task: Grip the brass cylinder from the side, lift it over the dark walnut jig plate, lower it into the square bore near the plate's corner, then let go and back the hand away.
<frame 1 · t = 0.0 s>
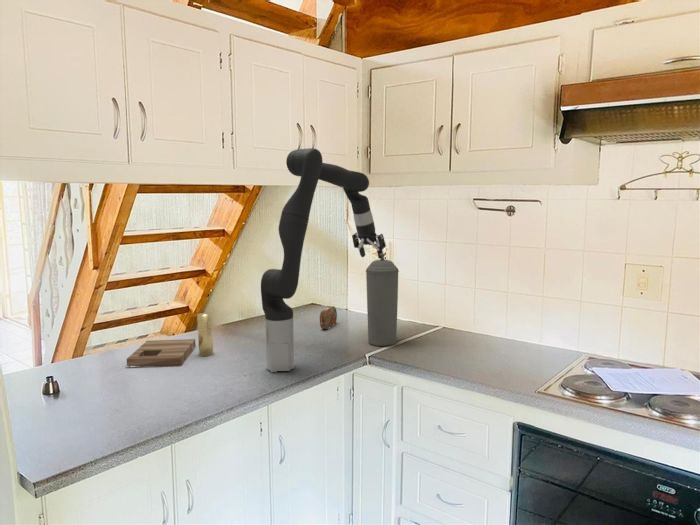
hand: (372, 257, 212), 31 cm above the table, tool tilted 20°, fingers open, 8 cm apart
jig: (163, 356, 184), on the table
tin: (328, 327, 223), on the table
canister: (382, 343, 198), on the table
brass cylinder: (206, 354, 186), on the table
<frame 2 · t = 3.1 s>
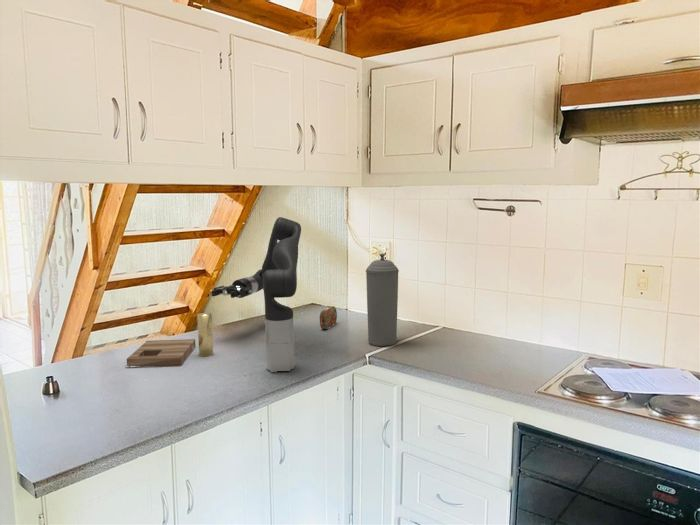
hand: (221, 294, 194), 20 cm above the table, tool horizontal, fingers open, 8 cm apart
nothing on the table moved.
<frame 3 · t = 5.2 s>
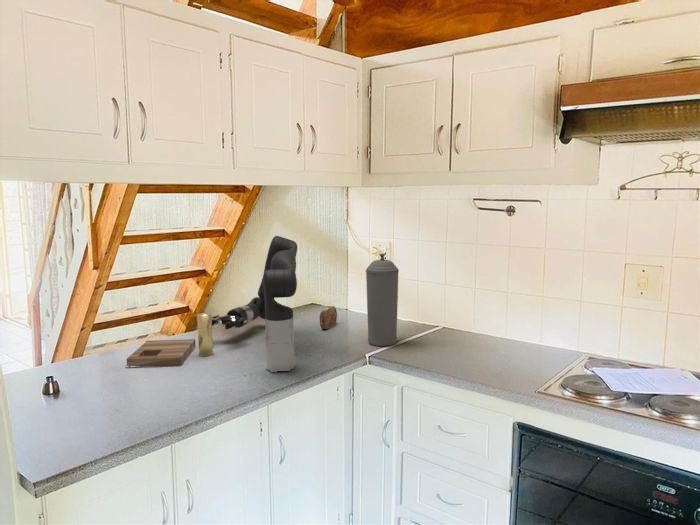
hand: (216, 325, 191), 9 cm above the table, tool horizontal, fingers open, 8 cm apart
nothing on the table moved.
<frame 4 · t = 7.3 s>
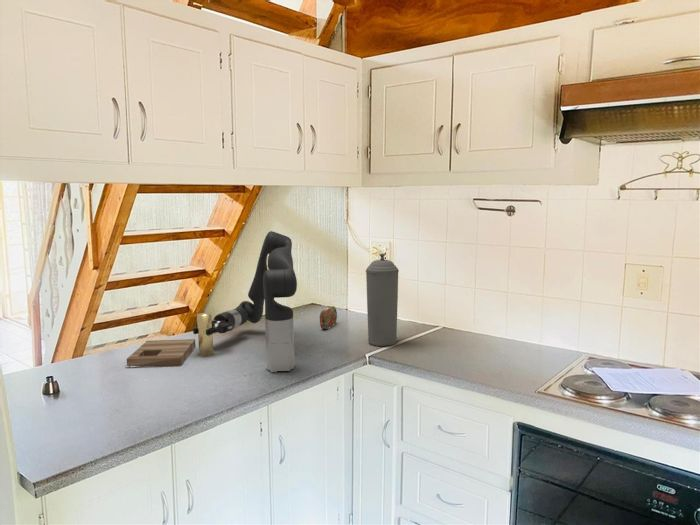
hand: (200, 332, 182), 9 cm above the table, tool horizontal, fingers closed on brass cylinder, 5 cm apart
brass cylinder: (206, 354, 186), on the table, touching gripper
everything else where it was.
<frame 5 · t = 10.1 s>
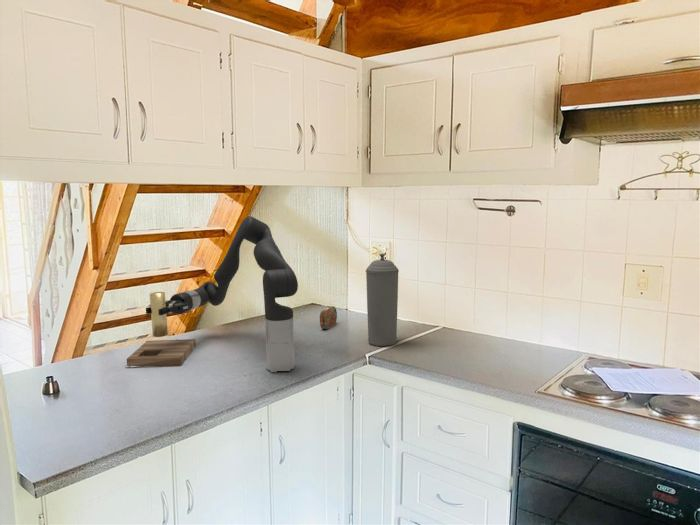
hand: (153, 311, 176), 18 cm above the table, tool horizontal, fingers closed on brass cylinder, 5 cm apart
brass cylinder: (160, 335, 179), point 9 cm above the table, touching gripper
everything else where it was.
when the fingers open (10 cm above the table, at t = 12.7 s): brass cylinder drops 1 cm, resting in jig.
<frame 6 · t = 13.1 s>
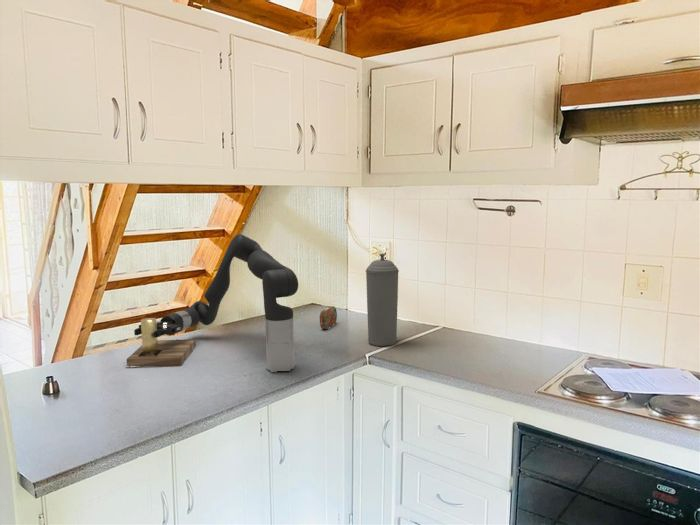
hand: (144, 333, 175), 10 cm above the table, tool horizontal, fingers open, 8 cm apart
brass cylinder: (151, 361, 179), resting in jig
everything else where it was.
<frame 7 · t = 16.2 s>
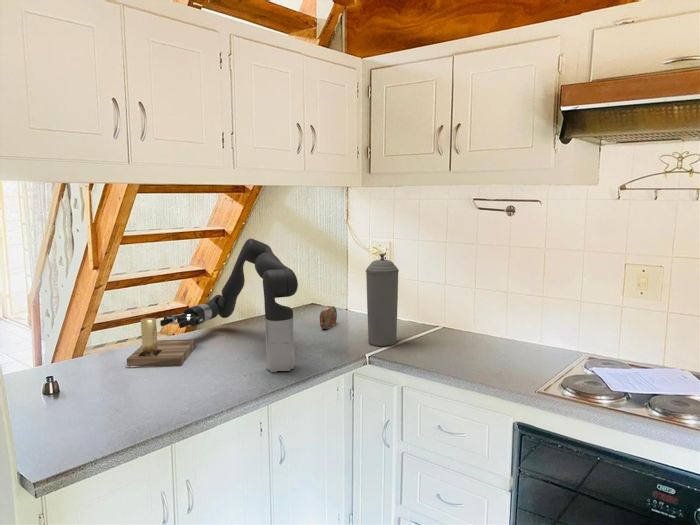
hand: (170, 324, 187), 11 cm above the table, tool horizontal, fingers open, 8 cm apart
nothing on the table moved.
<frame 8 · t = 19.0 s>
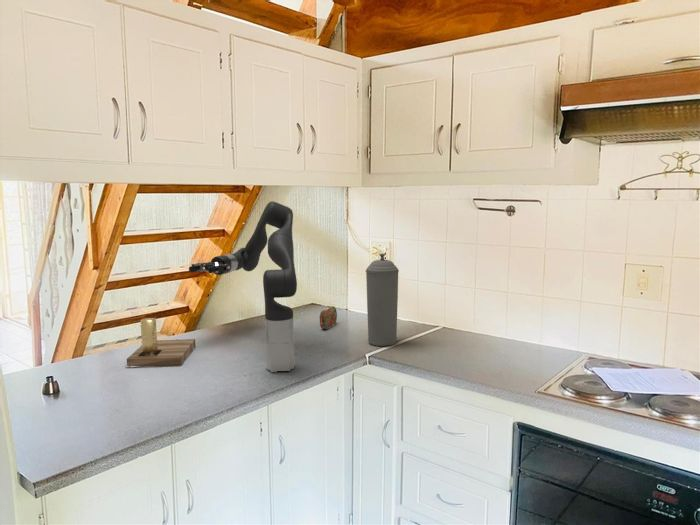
hand: (199, 270, 190), 30 cm above the table, tool horizontal, fingers open, 8 cm apart
nothing on the table moved.
at the end: brass cylinder 0.1 cm from the target spot on the jig, point 0.0 cm above the jig's base; brass cylinder tilted 0°; the gripper is holding nothing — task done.
